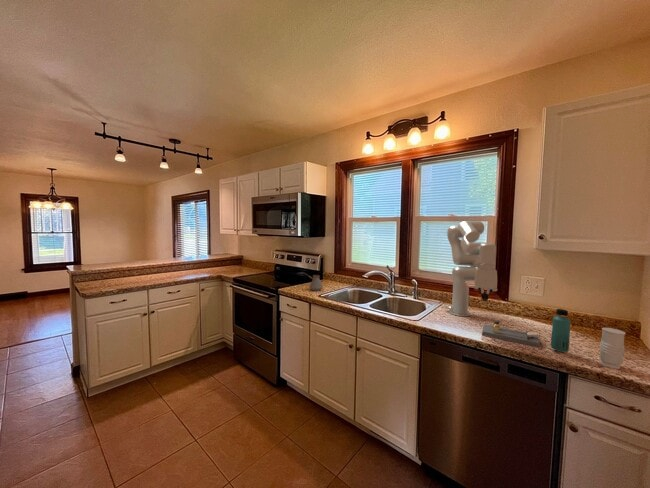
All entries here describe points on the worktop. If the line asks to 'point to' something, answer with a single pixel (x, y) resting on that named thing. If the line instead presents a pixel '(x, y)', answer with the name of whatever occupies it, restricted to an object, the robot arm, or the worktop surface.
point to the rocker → (532, 334)
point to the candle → (612, 348)
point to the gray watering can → (315, 283)
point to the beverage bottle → (560, 331)
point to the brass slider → (496, 328)
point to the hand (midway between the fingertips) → (484, 300)
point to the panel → (511, 335)
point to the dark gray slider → (496, 322)
